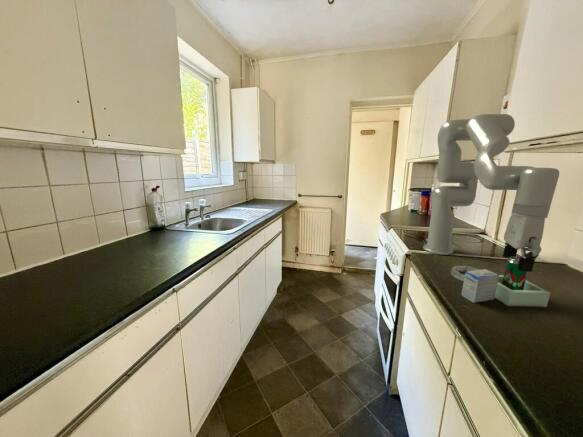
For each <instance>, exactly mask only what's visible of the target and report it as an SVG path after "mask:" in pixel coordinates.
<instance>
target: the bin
mask: <svg viewBox="0 0 583 437" xmlns="http://www.w3.org/2000/svg"><path fill="white" fill-rule="evenodd" d="M498 275H499V280H498V284H497V289H496V293H495V298H494V299H497V300H498V301H499V302H501V303H503V304H504V305H505V306H507V307H530V308H531V307H532V308H533V307H535V308H536V307H538V308H547V307H548V304H549V300H550V297H551V292H550V291H547V290H546V289H544V288H542V287H540V286H538V285H536V284H534V283H532V282H530V281H528V280H526V282H525V286H524V290H511V289H509V288H507V287H506V286H504V285H502V281H503V276H504V274H498Z"/></svg>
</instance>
